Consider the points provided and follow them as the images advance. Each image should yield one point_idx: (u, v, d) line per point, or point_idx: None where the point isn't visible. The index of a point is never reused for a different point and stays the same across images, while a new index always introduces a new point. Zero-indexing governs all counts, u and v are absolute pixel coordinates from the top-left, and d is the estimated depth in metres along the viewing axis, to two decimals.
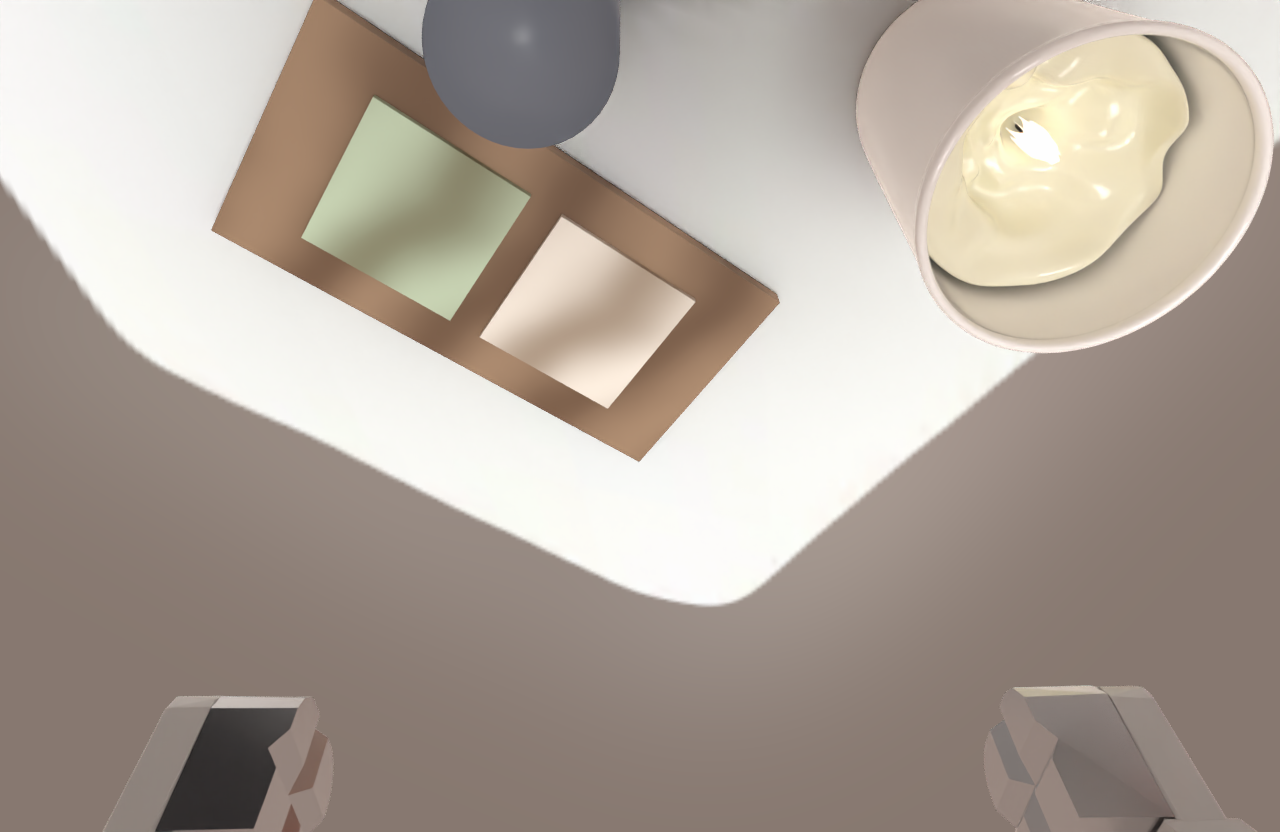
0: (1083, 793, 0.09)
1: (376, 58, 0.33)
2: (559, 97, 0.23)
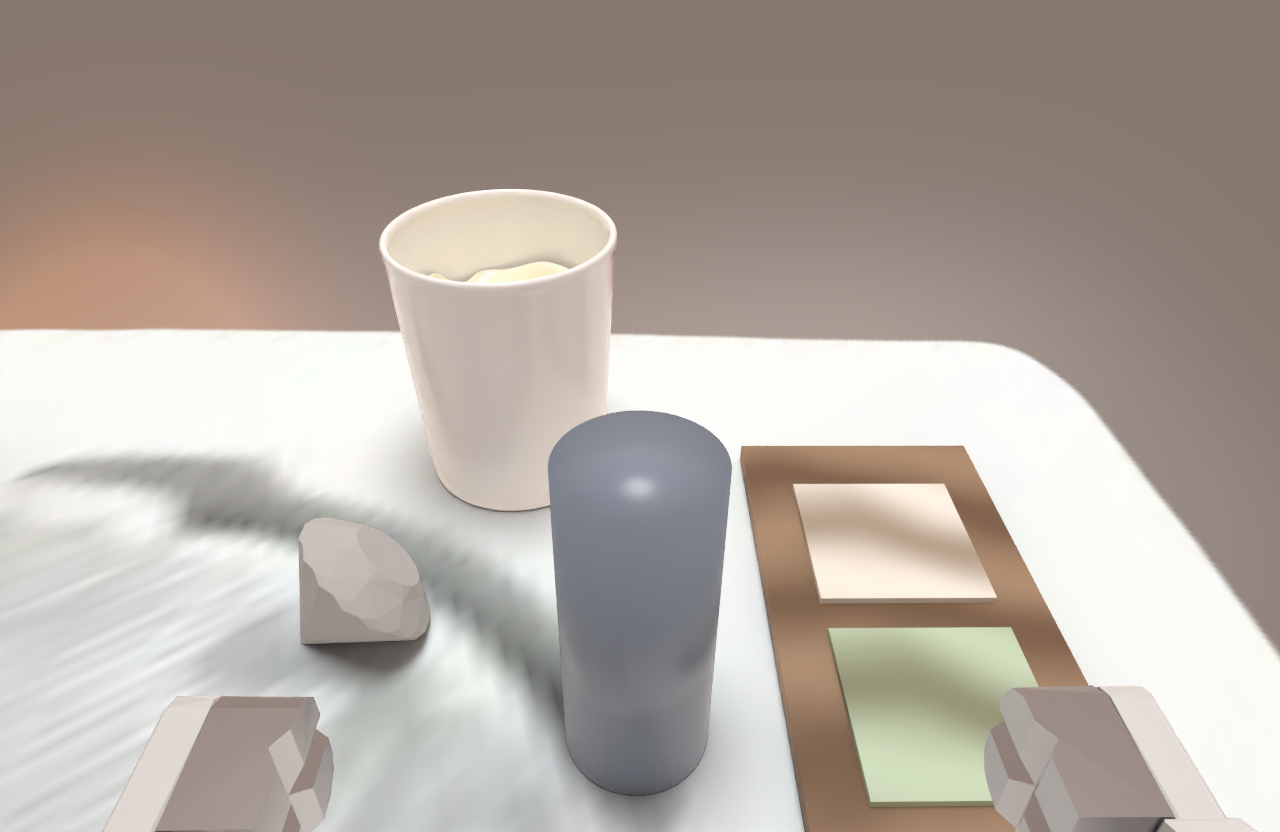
0: (1083, 792, 0.09)
1: (832, 823, 0.27)
2: (653, 433, 0.25)
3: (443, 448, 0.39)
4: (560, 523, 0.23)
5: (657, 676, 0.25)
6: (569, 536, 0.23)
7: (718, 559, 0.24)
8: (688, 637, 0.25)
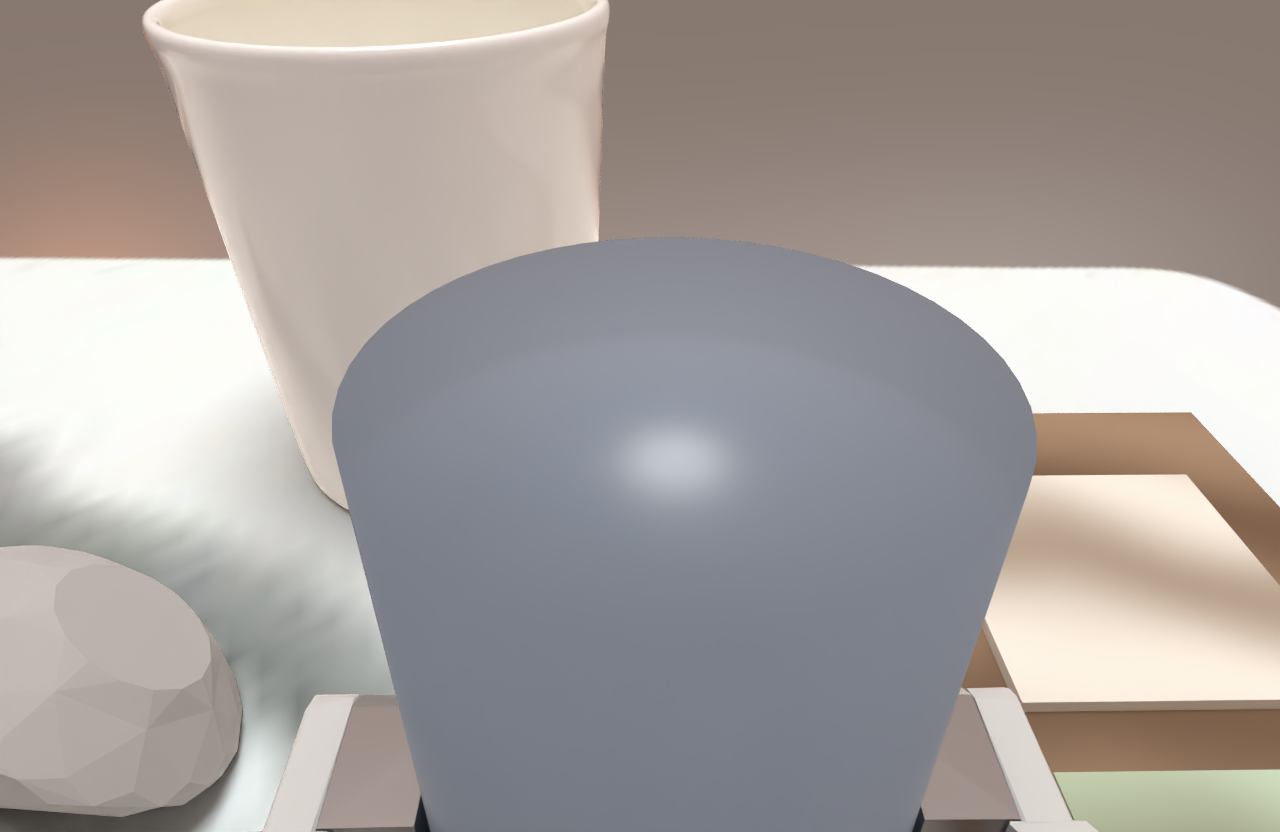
0: (933, 795, 0.09)
1: None
2: (719, 288, 0.08)
3: (300, 414, 0.21)
4: (378, 600, 0.06)
5: None
6: (407, 655, 0.06)
7: None
8: None
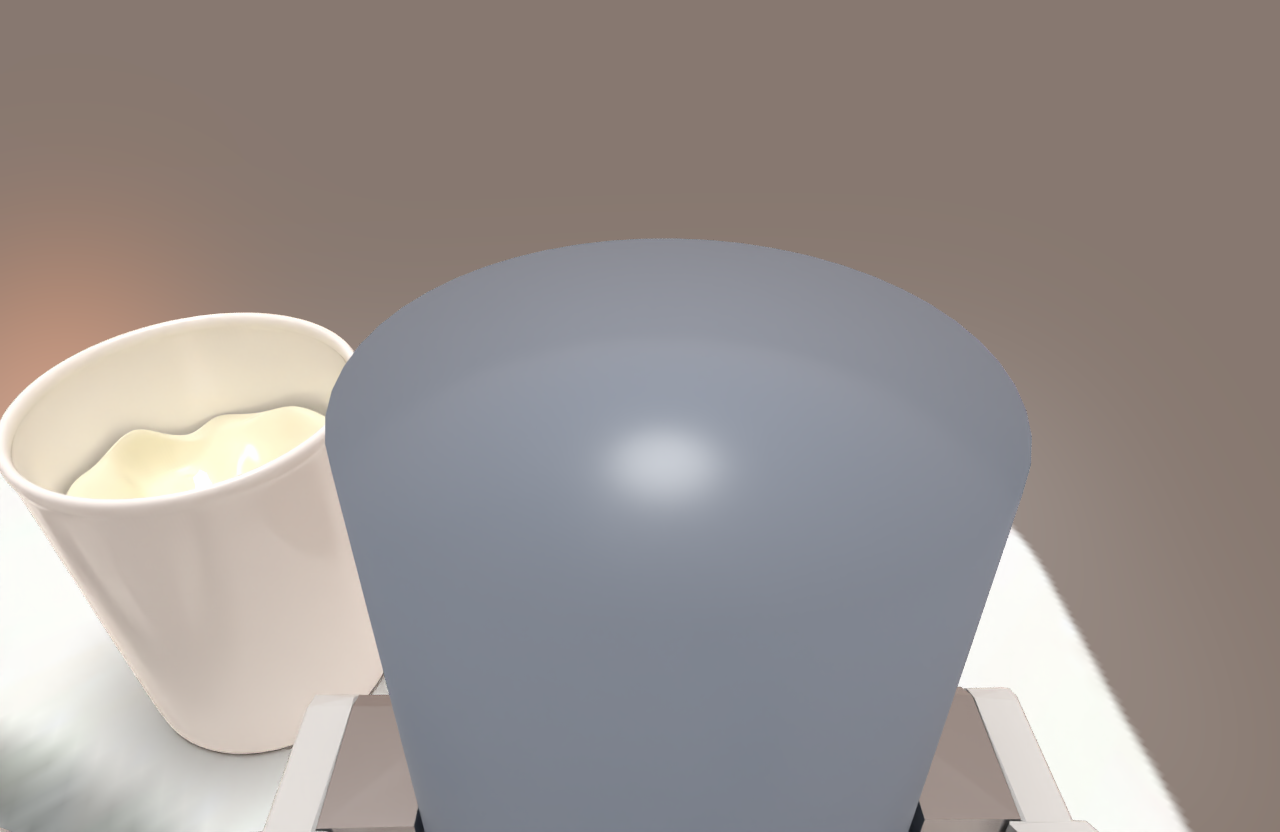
0: (933, 795, 0.09)
1: None
2: (714, 289, 0.08)
3: (137, 678, 0.28)
4: (370, 603, 0.06)
5: None
6: (401, 659, 0.06)
7: None
8: None
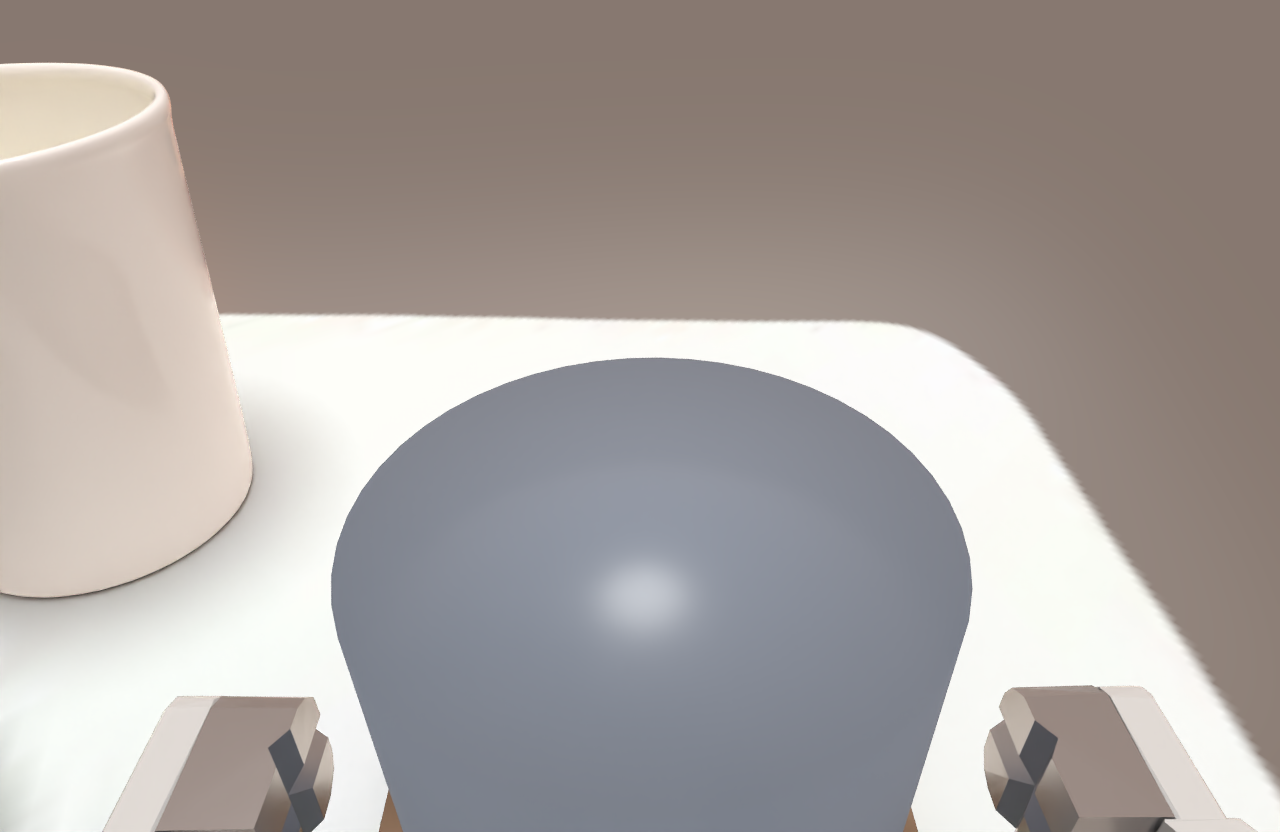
0: (1083, 793, 0.09)
1: None
2: (690, 420, 0.08)
3: None
4: (375, 745, 0.07)
5: None
6: (403, 797, 0.06)
7: None
8: None
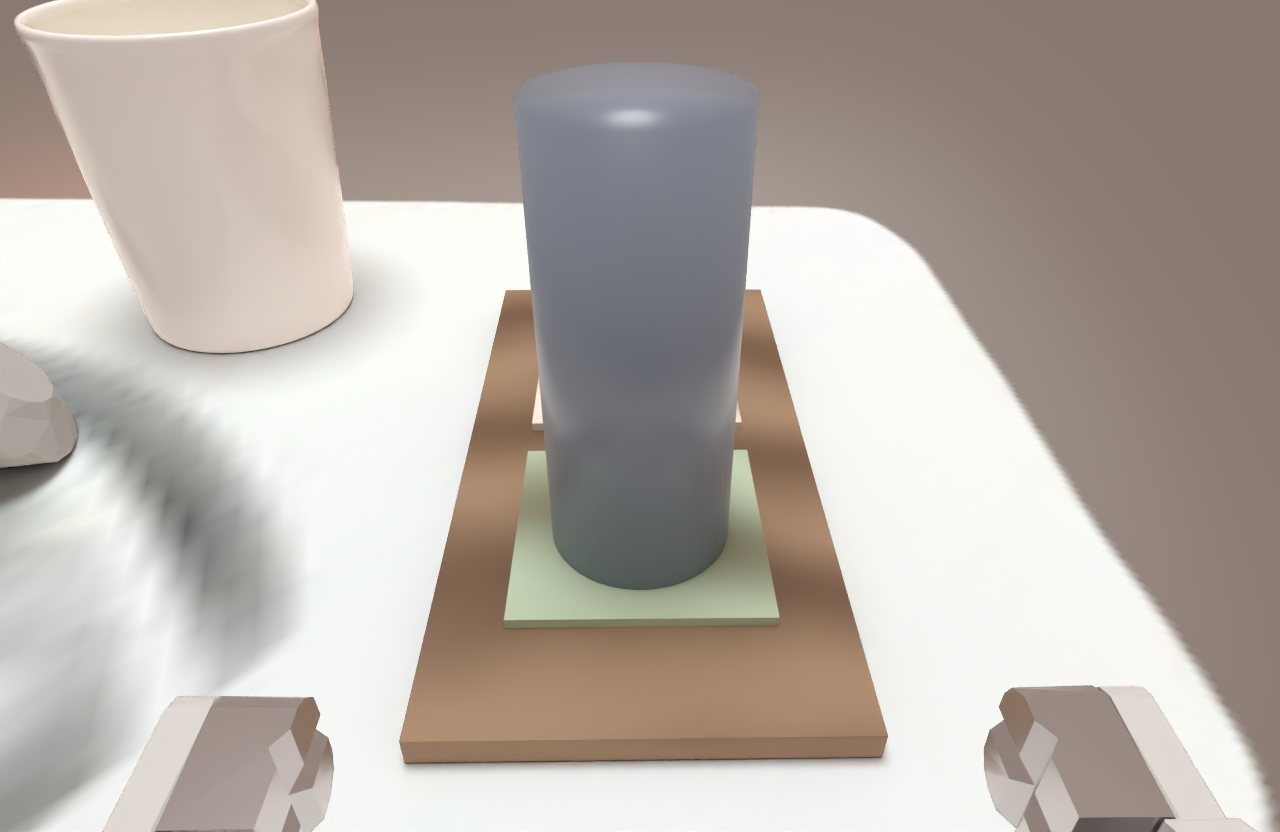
0: (1083, 793, 0.09)
1: (452, 644, 0.22)
2: (655, 74, 0.19)
3: (131, 274, 0.33)
4: (530, 163, 0.17)
5: (663, 397, 0.19)
6: (542, 176, 0.17)
7: (742, 229, 0.18)
8: (703, 342, 0.19)
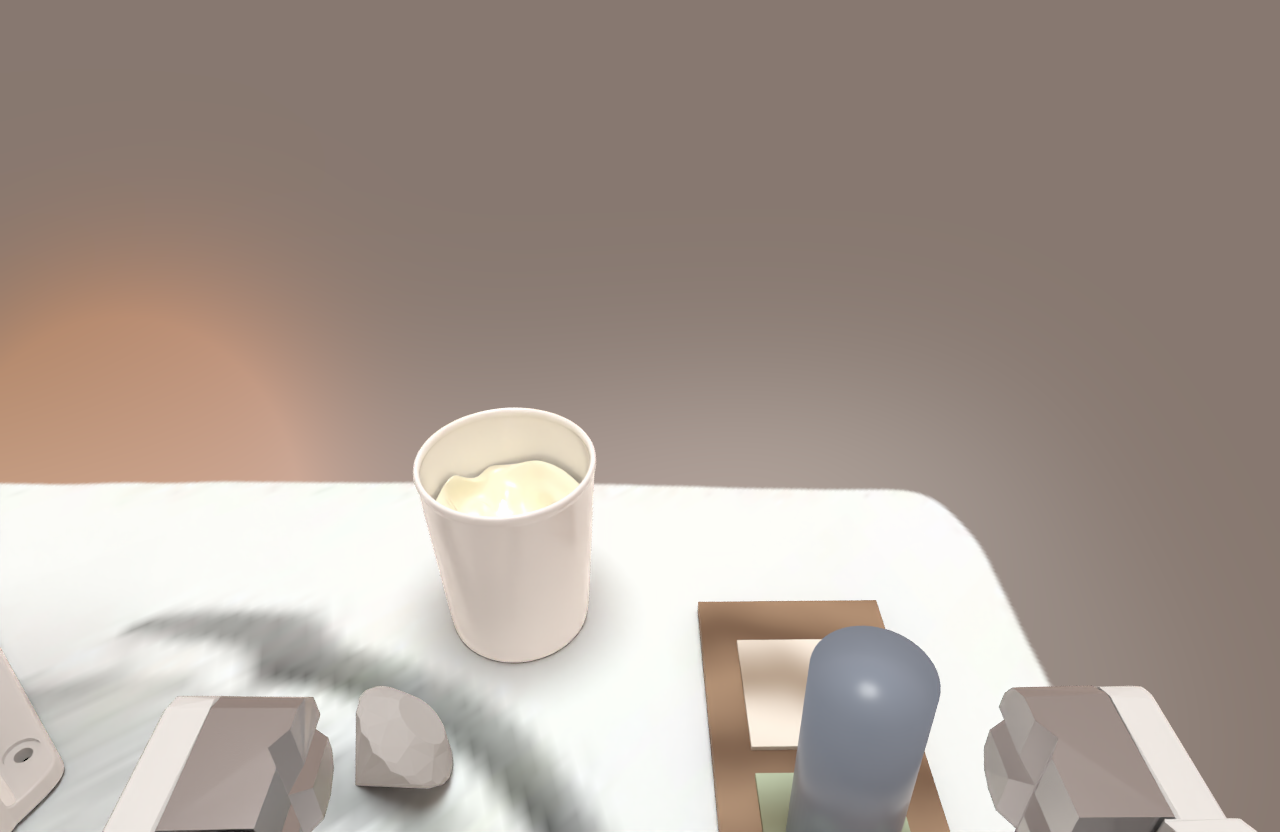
0: (1083, 793, 0.09)
1: None
2: (877, 646, 0.35)
3: (461, 617, 0.49)
4: (822, 719, 0.33)
5: (879, 818, 0.35)
6: (829, 729, 0.33)
7: None
8: (903, 793, 0.35)
